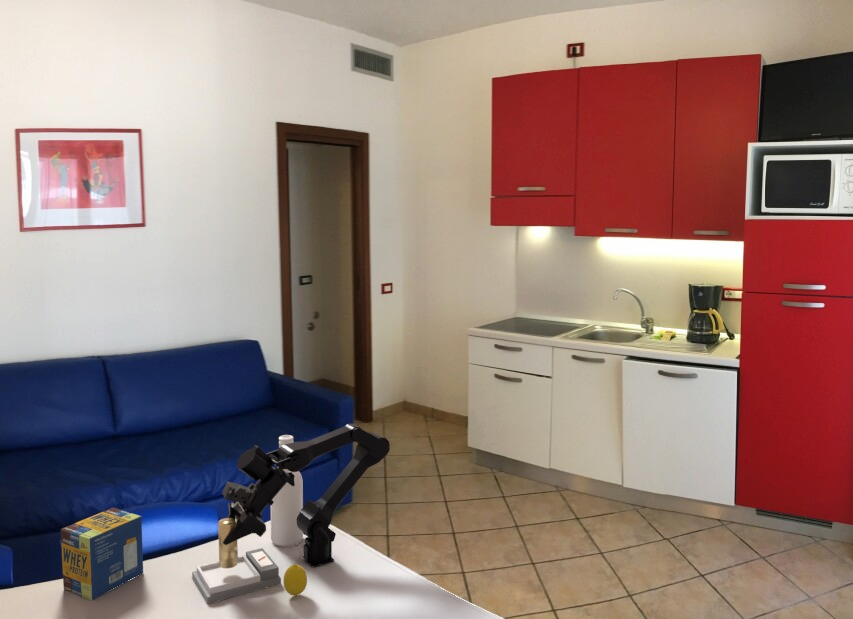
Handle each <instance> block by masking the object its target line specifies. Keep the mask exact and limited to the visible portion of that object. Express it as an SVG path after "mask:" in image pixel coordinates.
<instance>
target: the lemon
mask: <svg viewBox="0 0 853 619" xmlns="http://www.w3.org/2000/svg"><path fill="white" fill-rule="evenodd" d="M307 583H308V576H307V572H306V570H305V569H304V567H303V566H301V565H299V564H296V563H294V564H292V565H290V566H288V567H287V569H286V570H285V572H284V574H283V586H284V590H285V592H286V593H287V594H289V595H291V596H294V597H297V596H298V595H301V594H302V593H303V592H304V590H306V587H307V585H308V584H307Z"/></svg>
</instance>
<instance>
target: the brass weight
mask: <svg viewBox="0 0 853 619" xmlns="http://www.w3.org/2000/svg"><path fill="white" fill-rule="evenodd" d="M234 525H235V519H234V518H227V517H225V518H221V519H220V520H219V521H217V527H218V528H217V529H218V530H217V531H218V557H219V560H218V561H219V566H220V567H221V568H233V567H235V566H236V565H237V564H238V556H239V554H238V553H239V552H238V550H239V549H238V540H236V541H234V542H232V543H230V544H228V545H225V544H223V541H224V539H225V538H226V536H227V535H228V533H229V532H230V530H231V529H232V527H233V526H234Z"/></svg>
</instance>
